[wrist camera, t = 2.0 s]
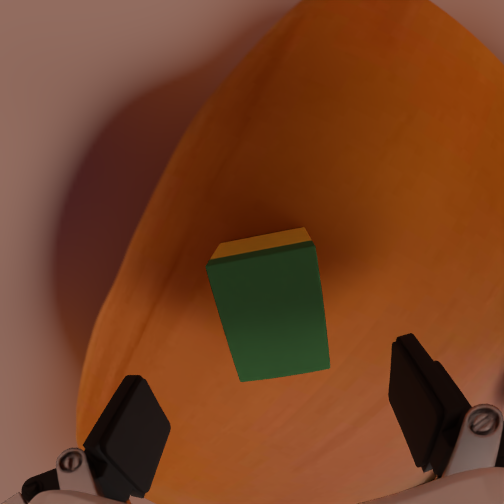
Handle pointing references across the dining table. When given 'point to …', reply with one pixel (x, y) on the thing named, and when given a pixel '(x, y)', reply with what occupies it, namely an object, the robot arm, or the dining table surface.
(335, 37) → the dining table surface
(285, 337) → the sponge
